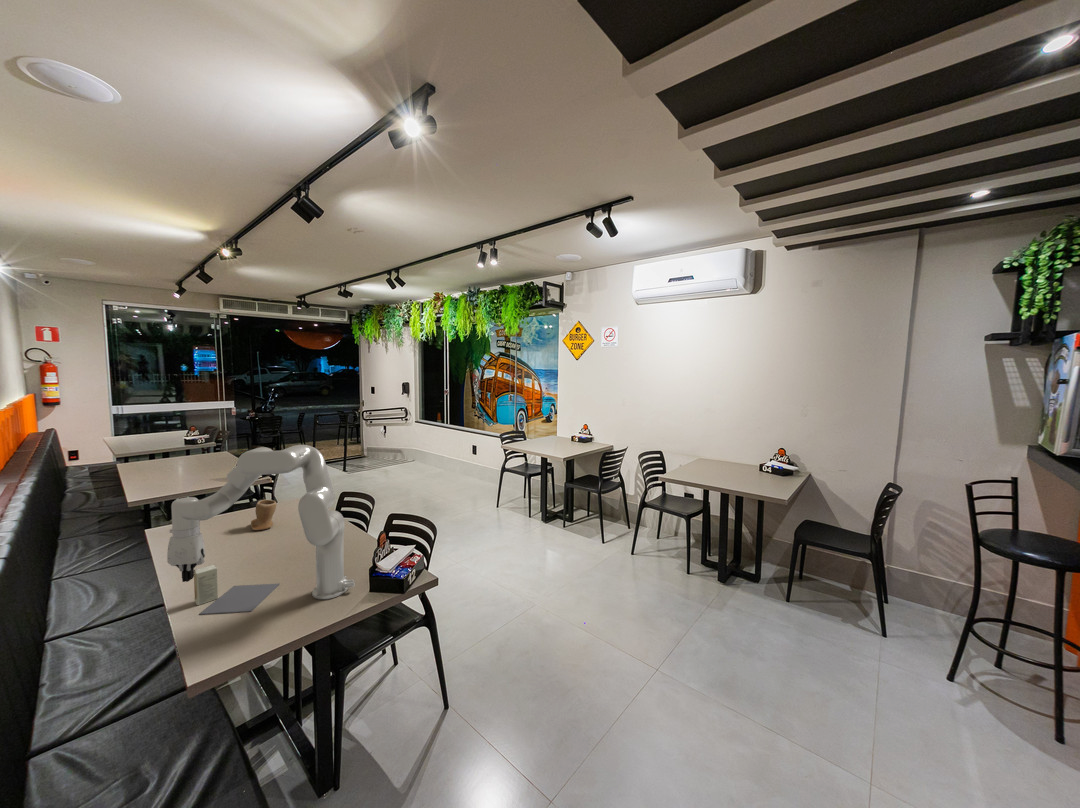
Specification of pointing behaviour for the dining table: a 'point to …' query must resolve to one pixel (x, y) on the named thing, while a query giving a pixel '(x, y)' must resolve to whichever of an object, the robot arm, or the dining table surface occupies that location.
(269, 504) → the brown boot
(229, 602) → the mat
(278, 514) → the dining table surface
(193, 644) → the dining table surface
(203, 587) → the skincare box
